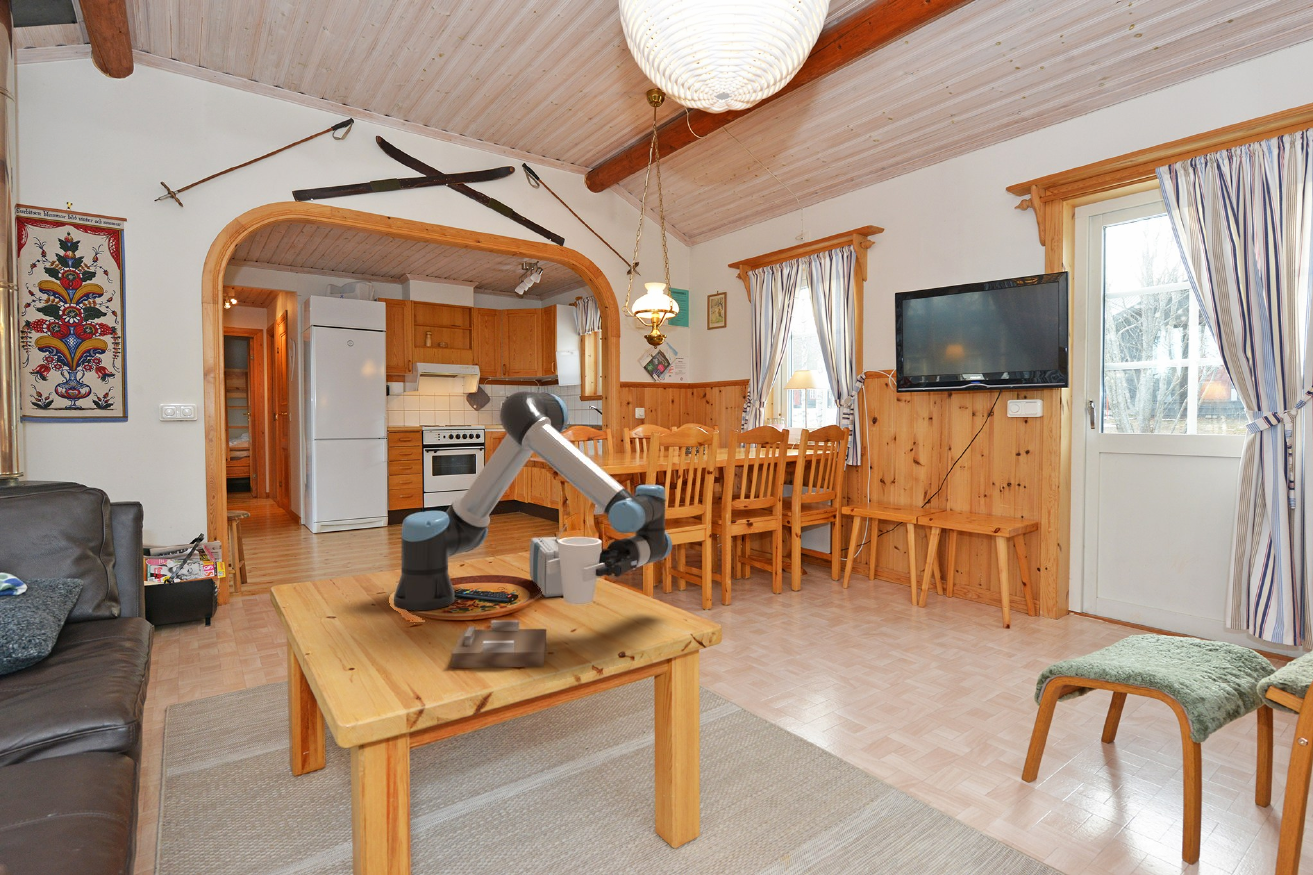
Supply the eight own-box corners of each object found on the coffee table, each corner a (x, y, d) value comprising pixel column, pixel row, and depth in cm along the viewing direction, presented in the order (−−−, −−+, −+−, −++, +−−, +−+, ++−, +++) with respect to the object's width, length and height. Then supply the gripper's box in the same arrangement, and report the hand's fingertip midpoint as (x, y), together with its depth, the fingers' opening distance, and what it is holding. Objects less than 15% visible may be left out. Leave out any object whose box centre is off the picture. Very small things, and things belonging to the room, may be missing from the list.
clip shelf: (451, 668, 136) (451, 643, 135) (463, 643, 150) (463, 620, 150) (543, 666, 138) (543, 642, 138) (546, 642, 152) (546, 620, 152)
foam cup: (609, 600, 149) (610, 541, 149) (577, 609, 142) (578, 547, 142) (579, 591, 156) (581, 535, 155) (548, 599, 149) (549, 540, 148)
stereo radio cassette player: (528, 580, 206) (529, 514, 205) (555, 578, 208) (556, 513, 208) (541, 599, 186) (543, 526, 185) (571, 597, 189) (572, 525, 188)
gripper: (665, 576, 158) (606, 597, 139) (590, 562, 170) (527, 580, 151) (666, 544, 158) (607, 561, 139) (591, 532, 170) (528, 546, 151)
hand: (565, 571), depth 145 cm, fingers closed on foam cup, 9 cm apart
